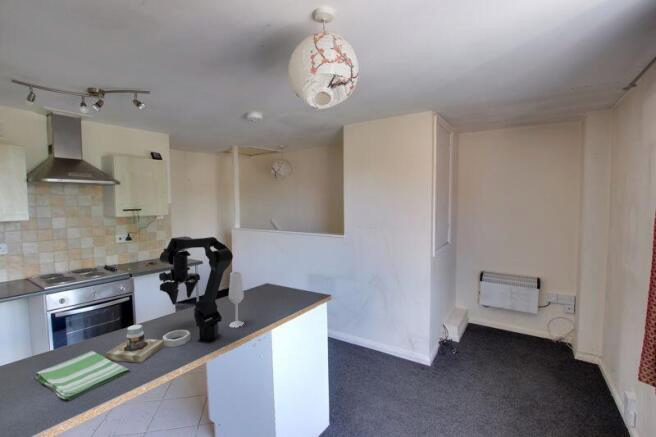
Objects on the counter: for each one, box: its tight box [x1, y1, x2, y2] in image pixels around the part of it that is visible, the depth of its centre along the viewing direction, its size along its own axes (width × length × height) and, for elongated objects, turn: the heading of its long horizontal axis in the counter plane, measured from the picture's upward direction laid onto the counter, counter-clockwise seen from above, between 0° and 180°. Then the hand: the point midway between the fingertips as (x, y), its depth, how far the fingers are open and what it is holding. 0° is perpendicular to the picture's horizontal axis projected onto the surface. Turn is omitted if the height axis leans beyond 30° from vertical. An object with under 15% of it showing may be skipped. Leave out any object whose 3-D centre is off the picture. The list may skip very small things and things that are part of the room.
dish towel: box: [34, 350, 131, 401], centre depth 101 cm, size 18×23×3 cm
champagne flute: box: [228, 271, 245, 328], centre depth 141 cm, size 7×7×24 cm
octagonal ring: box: [162, 329, 191, 348], centre depth 125 cm, size 10×10×2 cm
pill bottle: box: [125, 324, 145, 352], centre depth 115 cm, size 6×6×10 cm
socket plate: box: [105, 338, 165, 364], centre depth 116 cm, size 14×12×2 cm
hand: (181, 301), depth 135 cm, fingers open, 9 cm apart
